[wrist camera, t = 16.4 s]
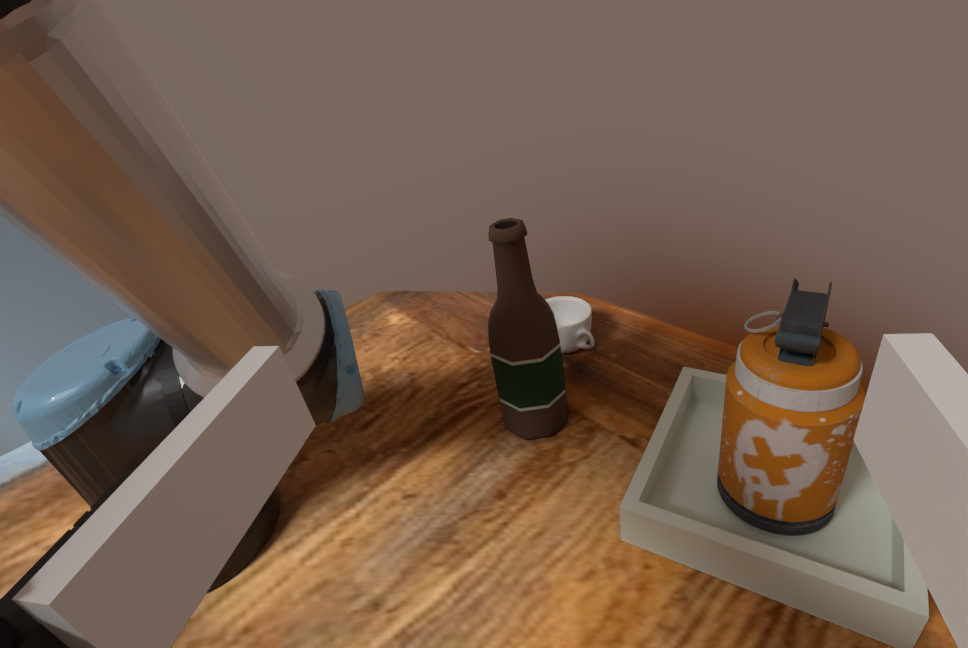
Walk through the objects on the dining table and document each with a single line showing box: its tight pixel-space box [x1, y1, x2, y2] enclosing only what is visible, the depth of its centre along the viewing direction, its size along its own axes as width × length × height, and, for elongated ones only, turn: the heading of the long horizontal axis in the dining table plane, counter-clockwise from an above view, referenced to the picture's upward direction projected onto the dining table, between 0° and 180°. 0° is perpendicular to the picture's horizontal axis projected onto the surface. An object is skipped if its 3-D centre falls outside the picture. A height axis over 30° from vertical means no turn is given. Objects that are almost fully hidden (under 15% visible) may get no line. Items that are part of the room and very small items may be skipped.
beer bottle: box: [488, 218, 568, 440], centre depth 54 cm, size 8×8×24 cm
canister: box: [717, 278, 865, 536], centre depth 41 cm, size 9×11×20 cm
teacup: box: [546, 296, 595, 354], centre depth 69 cm, size 10×8×5 cm
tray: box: [619, 367, 929, 648], centre depth 46 cm, size 20×20×4 cm
